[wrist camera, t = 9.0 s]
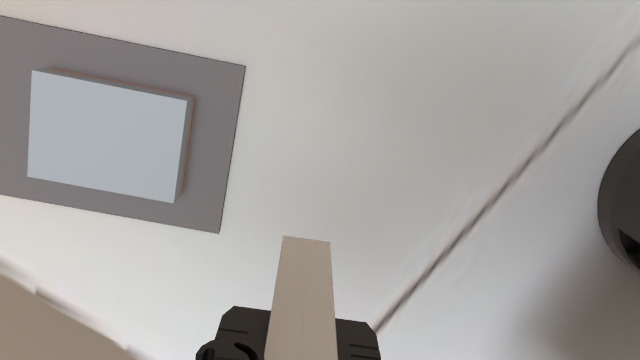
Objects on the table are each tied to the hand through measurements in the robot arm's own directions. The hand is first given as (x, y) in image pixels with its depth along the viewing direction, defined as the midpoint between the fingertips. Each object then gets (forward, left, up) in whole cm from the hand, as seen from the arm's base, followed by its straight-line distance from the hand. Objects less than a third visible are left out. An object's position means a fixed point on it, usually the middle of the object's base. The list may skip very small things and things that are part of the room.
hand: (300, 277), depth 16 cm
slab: (+9, +3, -23) cm, 25 cm away
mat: (+17, +3, -25) cm, 30 cm away
